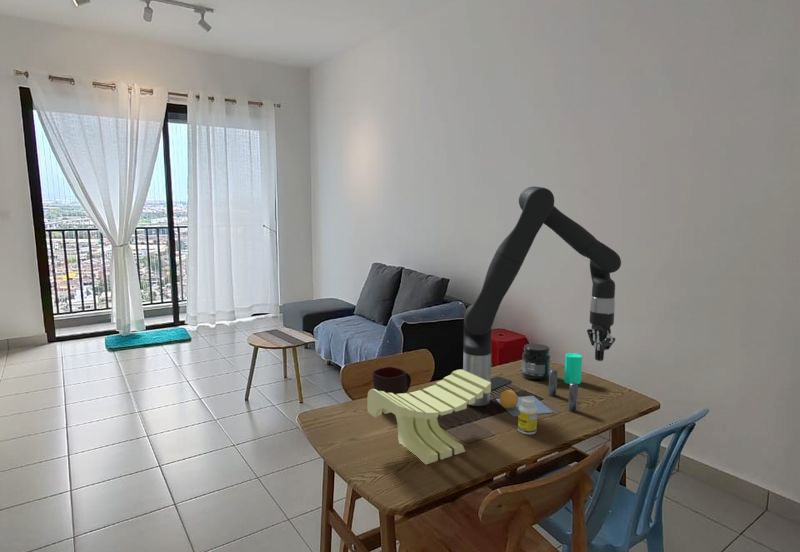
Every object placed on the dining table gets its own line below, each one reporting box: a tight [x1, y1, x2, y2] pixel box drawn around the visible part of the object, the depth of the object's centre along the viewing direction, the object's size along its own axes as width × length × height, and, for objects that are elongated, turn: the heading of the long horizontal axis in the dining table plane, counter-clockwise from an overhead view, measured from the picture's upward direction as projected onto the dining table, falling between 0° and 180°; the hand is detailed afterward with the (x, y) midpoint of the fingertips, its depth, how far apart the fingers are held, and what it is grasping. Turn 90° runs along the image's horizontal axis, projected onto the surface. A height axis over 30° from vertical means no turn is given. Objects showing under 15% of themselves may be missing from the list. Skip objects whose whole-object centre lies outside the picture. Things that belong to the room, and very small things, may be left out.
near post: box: [567, 382, 579, 413], centre depth 159 cm, size 3×3×9 cm
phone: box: [490, 376, 513, 392], centre depth 183 cm, size 7×1×15 cm
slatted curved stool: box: [366, 368, 492, 465], centre depth 135 cm, size 30×16×18 cm, turn 122°
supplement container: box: [521, 343, 552, 382], centre depth 190 cm, size 10×10×12 cm
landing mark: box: [495, 395, 554, 417], centre depth 163 cm, size 14×14×1 cm
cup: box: [372, 366, 412, 395], centre depth 162 cm, size 10×14×12 cm
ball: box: [498, 389, 519, 409], centre depth 161 cm, size 6×6×6 cm
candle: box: [563, 352, 583, 385], centre depth 184 cm, size 6×6×12 cm
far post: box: [548, 368, 558, 398], centre depth 172 cm, size 3×3×9 cm
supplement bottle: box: [517, 396, 538, 435], centre depth 144 cm, size 5×5×10 cm
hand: (599, 360), depth 166 cm, fingers closed
